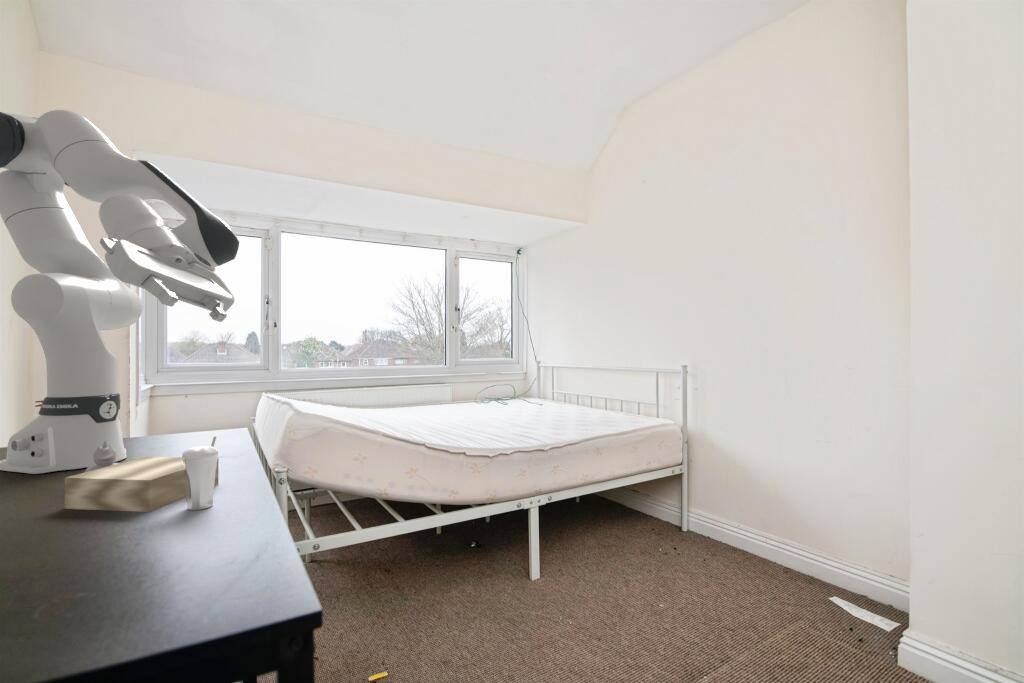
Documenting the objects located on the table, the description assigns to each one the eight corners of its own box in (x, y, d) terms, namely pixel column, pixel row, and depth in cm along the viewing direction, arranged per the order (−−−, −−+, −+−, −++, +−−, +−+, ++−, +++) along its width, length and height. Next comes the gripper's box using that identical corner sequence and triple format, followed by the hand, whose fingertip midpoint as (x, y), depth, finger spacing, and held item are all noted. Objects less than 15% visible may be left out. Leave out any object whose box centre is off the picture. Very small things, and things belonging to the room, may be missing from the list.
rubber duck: (83, 492, 80) (83, 444, 80) (84, 483, 85) (85, 438, 85) (125, 485, 83) (125, 440, 84) (124, 478, 88) (124, 434, 89)
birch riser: (64, 511, 72) (64, 477, 72) (145, 484, 86) (146, 456, 86) (149, 514, 70) (149, 480, 70) (218, 486, 84) (218, 458, 84)
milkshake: (228, 500, 75) (228, 436, 75) (203, 512, 70) (203, 443, 70) (201, 500, 75) (201, 436, 75) (174, 511, 70) (174, 443, 70)
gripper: (110, 218, 73) (150, 275, 68) (219, 267, 92) (256, 313, 88) (81, 248, 73) (119, 306, 68) (197, 290, 92) (232, 338, 88)
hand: (197, 310), depth 78 cm, fingers open, 8 cm apart
